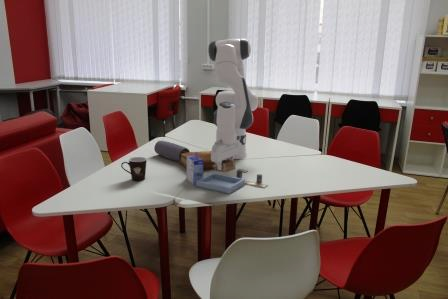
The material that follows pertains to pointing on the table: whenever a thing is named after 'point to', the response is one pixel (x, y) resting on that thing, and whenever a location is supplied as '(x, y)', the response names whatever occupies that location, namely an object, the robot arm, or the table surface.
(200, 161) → the ink cartridge box
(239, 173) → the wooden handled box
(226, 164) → the wooden mooncake mold
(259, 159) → the table surface
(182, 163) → the diary
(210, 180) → the tray
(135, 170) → the coffee mug
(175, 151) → the bluetooth speaker
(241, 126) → the robot arm
